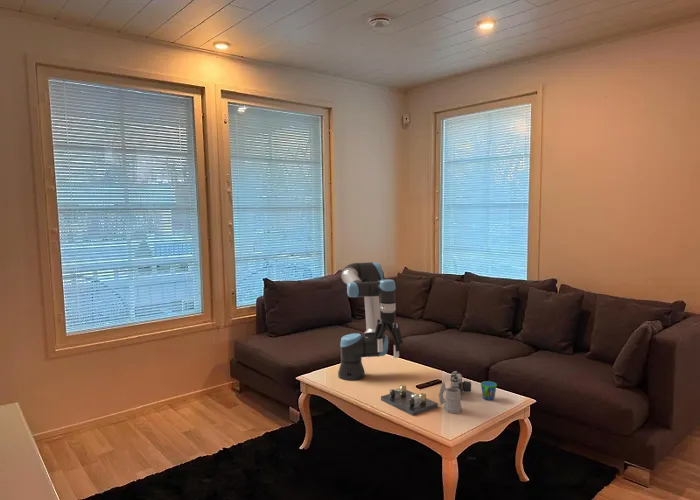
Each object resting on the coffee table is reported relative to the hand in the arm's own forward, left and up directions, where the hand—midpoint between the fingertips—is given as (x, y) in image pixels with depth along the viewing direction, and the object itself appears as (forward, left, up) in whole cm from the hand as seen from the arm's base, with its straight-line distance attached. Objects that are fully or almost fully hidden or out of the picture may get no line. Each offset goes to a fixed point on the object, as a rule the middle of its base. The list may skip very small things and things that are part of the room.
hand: (388, 354), depth 248 cm
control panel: (+11, +3, -22) cm, 25 cm away
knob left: (+5, +5, -20) cm, 21 cm away
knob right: (+19, +5, -20) cm, 28 cm away
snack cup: (+30, +39, -22) cm, 54 cm away
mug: (+28, +14, -22) cm, 38 cm away
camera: (+17, +33, -22) cm, 44 cm away
